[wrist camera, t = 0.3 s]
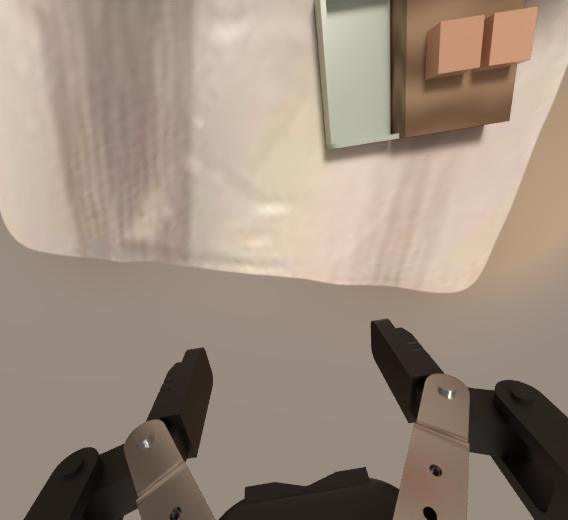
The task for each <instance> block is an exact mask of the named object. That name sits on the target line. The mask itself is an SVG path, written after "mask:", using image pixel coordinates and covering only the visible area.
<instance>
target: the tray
mask: <svg viewBox="0 0 568 520" xmlns="http://www.w3.org/2000/svg"><path fill="white" fill-rule="evenodd" d="M314 5H315V17H316V29H317V41H318V53H319V65H320V77H321V88H322V100H323V112H324V124H325V136H326V148H327V150H329V149H336V148H342V147H348V146H355V145H361V144H367V143H373V142H380V141H386V140H392V139H398V138H399V133H397V134H391V135H390V0H314Z"/></svg>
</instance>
